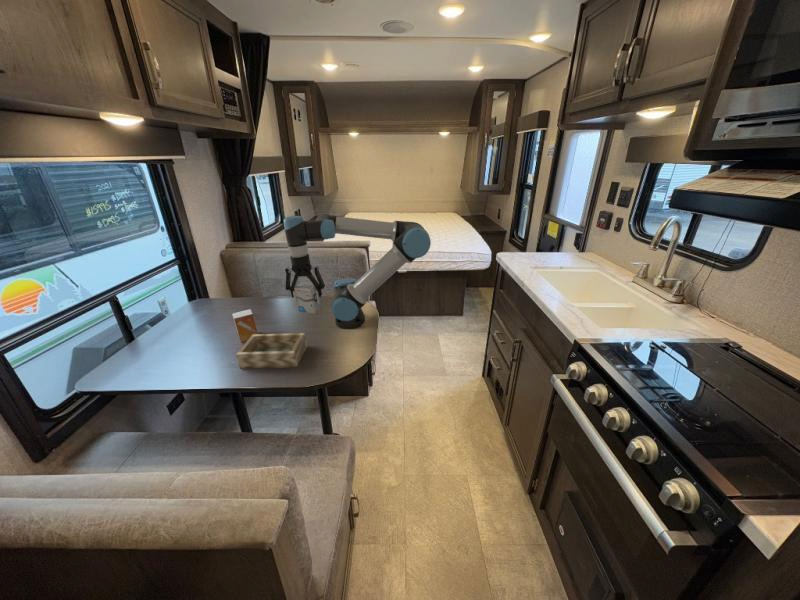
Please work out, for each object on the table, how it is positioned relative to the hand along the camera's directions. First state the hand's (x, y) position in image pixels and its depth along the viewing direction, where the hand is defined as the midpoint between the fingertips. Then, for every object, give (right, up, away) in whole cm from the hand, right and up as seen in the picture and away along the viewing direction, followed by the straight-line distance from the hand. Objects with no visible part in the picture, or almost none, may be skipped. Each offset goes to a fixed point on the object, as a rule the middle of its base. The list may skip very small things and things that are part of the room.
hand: (308, 303), depth 136 cm
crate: (-13, -23, -5) cm, 27 cm away
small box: (-32, -17, +10) cm, 37 cm away
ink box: (0, -3, +2) cm, 4 cm away
